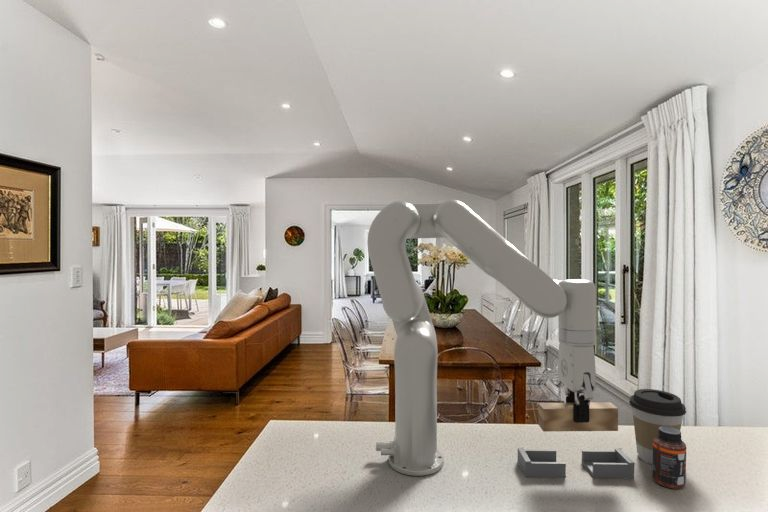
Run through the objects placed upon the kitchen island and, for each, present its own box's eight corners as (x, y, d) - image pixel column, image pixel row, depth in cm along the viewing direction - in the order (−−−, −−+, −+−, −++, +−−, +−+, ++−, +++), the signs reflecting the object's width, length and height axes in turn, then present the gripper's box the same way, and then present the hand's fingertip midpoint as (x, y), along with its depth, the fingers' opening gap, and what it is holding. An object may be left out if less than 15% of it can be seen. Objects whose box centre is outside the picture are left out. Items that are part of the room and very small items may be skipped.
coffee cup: (696, 471, 98) (699, 404, 97) (645, 471, 98) (647, 405, 97) (664, 447, 109) (665, 387, 109) (618, 447, 109) (619, 387, 109)
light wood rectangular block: (543, 431, 97) (543, 409, 97) (538, 424, 100) (538, 403, 100) (618, 430, 96) (618, 408, 96) (610, 424, 100) (610, 402, 100)
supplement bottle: (690, 492, 90) (692, 437, 90) (658, 488, 91) (660, 434, 91) (677, 476, 96) (679, 425, 96) (647, 473, 97) (648, 422, 97)
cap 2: (619, 463, 101) (620, 448, 101) (634, 478, 95) (634, 462, 95) (581, 462, 102) (581, 448, 102) (593, 477, 96) (593, 462, 95)
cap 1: (525, 476, 96) (525, 461, 96) (517, 462, 102) (517, 447, 102) (565, 477, 96) (565, 461, 96) (555, 462, 102) (555, 448, 102)
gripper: (546, 328, 106) (547, 404, 107) (574, 345, 89) (575, 434, 90) (578, 327, 105) (579, 403, 106) (612, 344, 89) (612, 434, 90)
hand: (577, 417), depth 98 cm, fingers closed on light wood rectangular block, 3 cm apart
